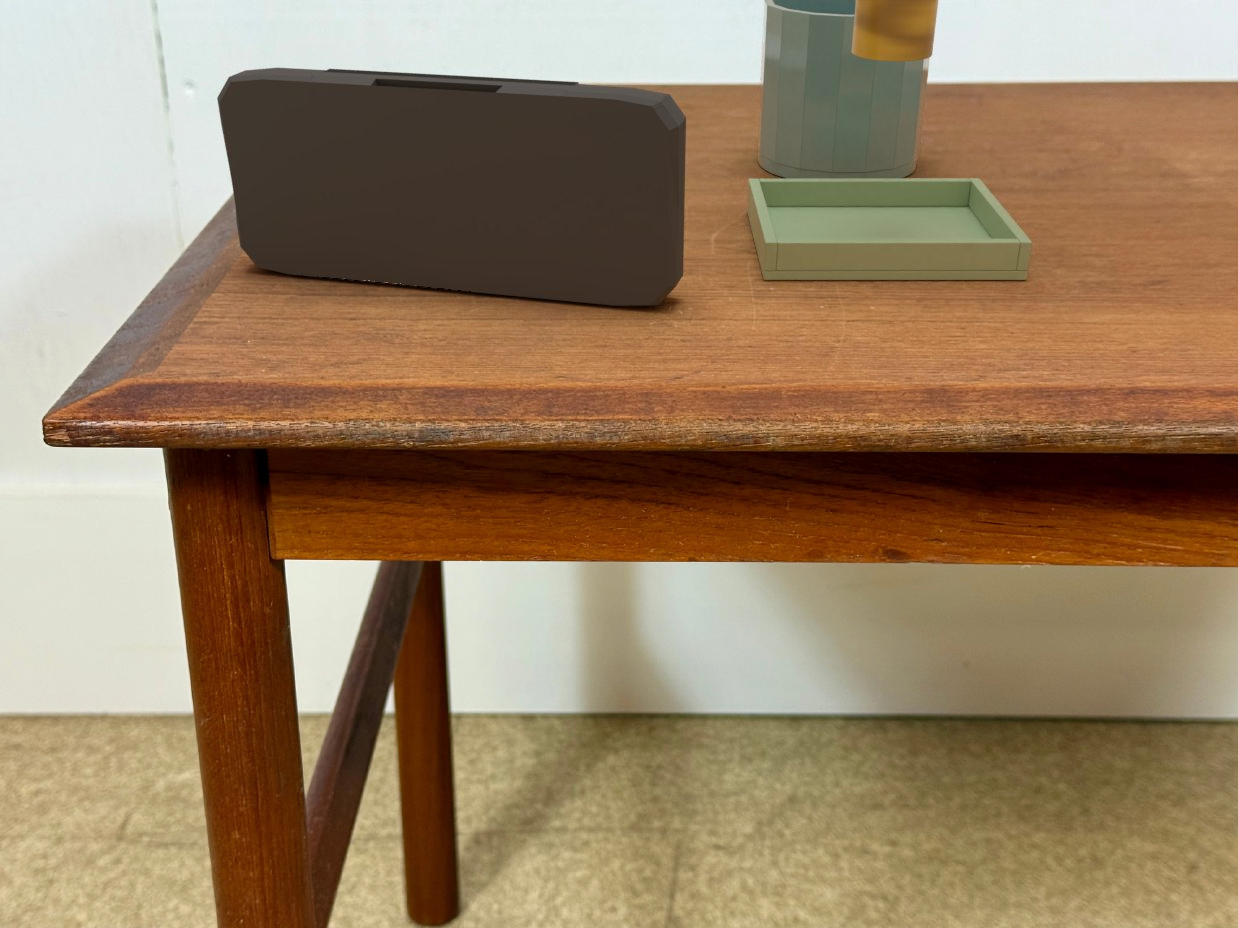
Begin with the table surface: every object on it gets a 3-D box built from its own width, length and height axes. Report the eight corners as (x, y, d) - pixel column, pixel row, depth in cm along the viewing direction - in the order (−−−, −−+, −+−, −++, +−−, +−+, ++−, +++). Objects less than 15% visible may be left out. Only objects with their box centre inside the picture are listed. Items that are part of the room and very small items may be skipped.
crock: (900, 142, 87) (916, -12, 82) (930, 185, 78) (950, 15, 73) (752, 143, 87) (758, -11, 82) (764, 185, 78) (773, 16, 73)
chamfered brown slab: (686, 293, 62) (690, 86, 57) (673, 314, 60) (677, 99, 55) (265, 255, 68) (237, 62, 63) (239, 272, 65) (207, 73, 60)
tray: (975, 211, 73) (979, 178, 72) (1027, 280, 64) (1032, 242, 63) (746, 212, 74) (748, 178, 73) (763, 280, 64) (765, 242, 63)
